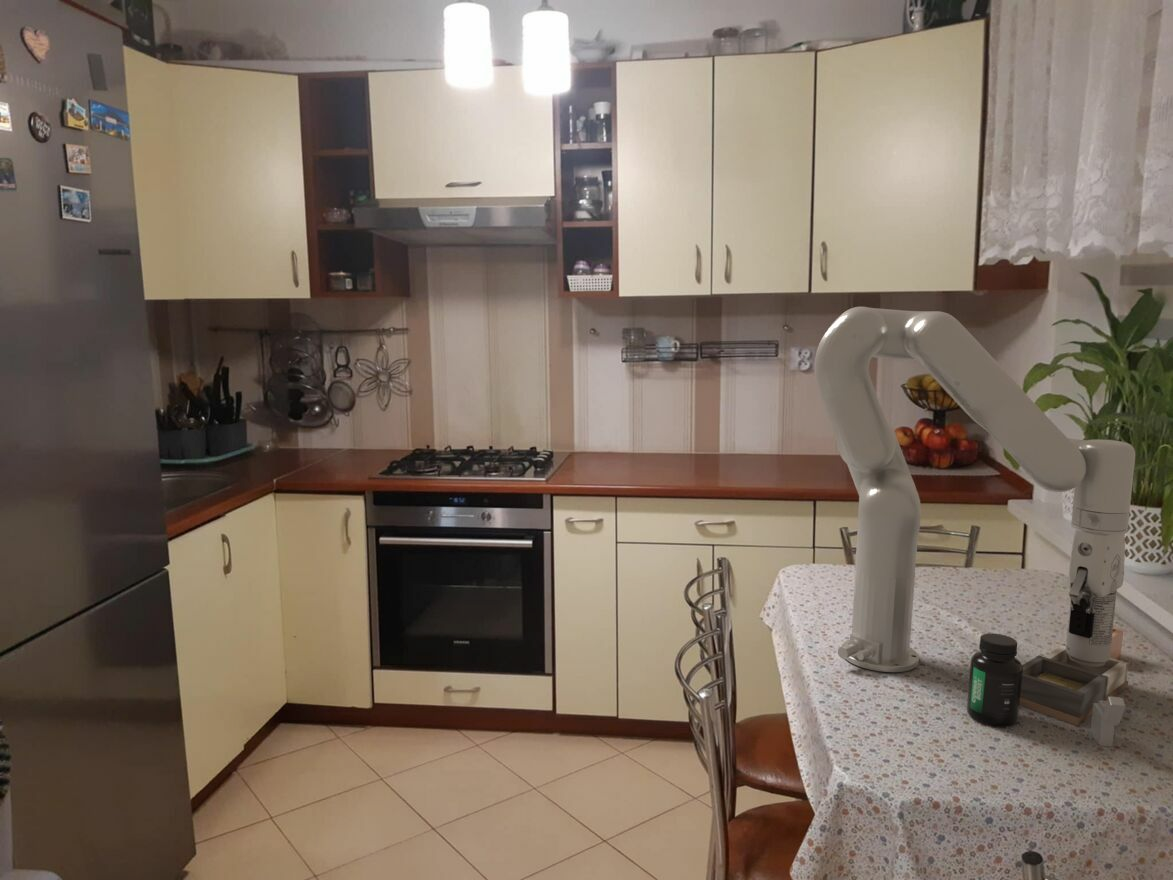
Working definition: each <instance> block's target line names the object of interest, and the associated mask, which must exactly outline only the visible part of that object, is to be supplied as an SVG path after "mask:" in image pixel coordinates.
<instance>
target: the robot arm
mask: <svg viewBox="0 0 1173 880" xmlns="http://www.w3.org/2000/svg"><path fill="white" fill-rule="evenodd" d="M815 352H816V353H815V357H814V376H815V382H816V386H817V389H818V392H819V395H820V398H821V401H822V404H823V407H824V410H825V413H826V416H827V419H828V423H829V425H830V427H831V430H832V433H833V435H834V438H835V441H836V446H837V450H838V453H839V455H840V457H841V459H842V460H843V461H844V463H845V464H846V465H847V468H848V470H849V473H850V476H851V478H852V480H853V484H854V486H855V489H856V491H857V494H858V496H859V497H858V512H857V515H858V516H857V536H856V548H855V552H856V553H855V567H854V568H855V573H854V587H853V588H854V589H853V590H854V591H853V604H852V621H851V622H852V624H851V633H850V634H849V639H848V640H845V641H844V642H843V643H842V644H841V647H839V648H838V649H837V655H838V657H840V659H843V660H846V661H847V662H849V663H851V664H853V665H855V666H857V667H860V668H862V669H866V670H869V671H874V672H875V671H876V672H883V673H903V672H908V671H911V670H913V669H915V668H917V667H918V665H919V660H920V656H919V654H918V653H917V651H915V649H914V648H912V647H911V638H912V637H911V636H912V635H911V634H912V625H913V624H912V622H913V608H914V597H915V596H914V595H915V582H916V581H915V580H916V566H917V565H916V564H917V552H918V542H919V534H920V526H921V520H922V519H921V518H922V517H921V516H922V506H921V505H922V504H921V499H920V495H919V492H918V490H917V487H916V484H915V482H914V479H913V477H912V476H913V475H912V474H911V471H910V469H909V467H908V466H909V465H908V463H907V461H906V458H905V455H904V453H903V451H902V448H901V446H900V443H899V440H898V439H899V438H898V437H897V434H896V432H895V428H894V426H893V424H892V423H891V422H890V420H889V419H888V418H887V417H886V416H885V413H884V411H883V409H882V406H881V403H880V401H879V398H878V396H877V395H878V394H877V392H876V389H875V387H874V384H873V381H872V379H871V376H870V363H871V360H872V358H878V359H887V360H888V359H890V360H900V361H901V360H903V361H918V363H919V364H920V365H921V366H922V367H923V368H924V369H925V370H926V371H927V372H928V374H929V375H930V376H931V377H933V379H934V380H935V381H936V382H937V383H938V384H939V385H940V387H941V388H943V390H944V391H945V392H946V393H947V394H948V395H949V396H950V398H951V399H953V400H954V401H955V403H956V404H957V405H958V406H959V408H961V409H962V410H963V411H964V412H965V414H967V415H968V416H969V418H970V419H972V420H973V422H975V423H976V424H977V425H979V426H980V427H981V428H982V429H984V430H985V431H986V432H987V433H988V434H990V436H991V437H993V439H995V441H997V442H998V444H1000V446H1002V447H1003V449H1005V451H1006V452H1007V453H1008V455H1010V456H1011V458H1013V460H1014V461H1016V462H1017V464H1018V465H1019V466H1020V467H1021V469H1022V470H1023V472H1024V473H1025V474H1026V475H1028V476H1027V477H1029V478H1031V480H1032V481H1033V482H1035V484H1036V485H1037V486H1039V487H1040V488H1042V489H1043V490H1045V491H1048V492H1052V493H1053V492H1054V493H1062V492H1068V491H1071V490H1073V501H1072V513H1071V524H1070V526H1071V528H1073V529H1075V531H1074V536H1073V542H1072V546H1071V553H1070V559H1069V567H1068V579H1067V582H1068V583H1067V585H1068V586H1067V587H1068V588H1069V597H1070V600H1071V605H1070V604H1069V610H1070V609H1071V612H1070V622H1069V621H1068V622H1069V633H1071V634H1074V635H1078V636H1081V637H1085V638H1091V637H1092V634H1093V624H1094V613H1092V610H1093V605H1094V601H1095V597H1096V595H1097V597H1100V598H1101V597H1104V596H1106V595H1108V594H1110V587H1111V584H1112V582H1113V581H1114V580H1116V581H1117V590H1119V589H1120V588H1121V587H1122V586H1123V583H1124V579H1125V578H1124V577H1125V558H1126V556H1125V554H1126V536H1125V535H1126V534H1128V530H1129V520H1130V512H1131V511H1130V510H1131V502H1132V501H1131V500H1132V494H1133V493H1132V490H1133V481H1134V480H1133V479H1134V472H1135V461H1136V450H1135V448H1134V447H1133V445H1131V444H1130V443H1128V442H1125V441H1120V440H1114V439H1098V438H1097V439H1087V440H1084V439H1075V438H1071V437H1070V438H1069V437H1067V435H1065V434H1064V433H1063V432H1062V430H1061V429H1059V427H1058V426H1057V425H1056V424H1055V423H1054V422H1053V421H1052V420H1051V419H1050V417H1048V416H1047V415H1046V413H1044V411H1042V410H1041V408H1040V407H1039V406H1038V405H1037V404H1036V403H1035V402H1034V401H1033V400H1032V399H1031V398H1030V397H1029V396H1028V394H1027V393H1026V392H1025V391H1024V389H1023V388H1022V387H1021V386H1020V385H1019V383H1017V381H1016V380H1015V379H1014V378H1013V377H1012V376H1011V375H1010V374H1009V373H1008V372H1007V371H1006V370H1005V368H1004V367H1002V366H1001V364H1000V363H998V361H997V360H996V359H995V358H994V357H993V356H992V355H991V354H990V352H988V351H987V350H986V349H985V347H984V346H982V345H981V343H980V342H979V341H978V339H976V337H974V335H972V334H971V333H970V332H969V330H968V329H967V328H966V327H964V325H963V324H962V323H961V322H960V321H959V320H958V319H957V318H956V317H954V316H953V315H952V314H950V313H947V312H943V311H937V310H936V311H935V310H934V311H933V310H932V311H925V310H924V311H923V310H922V311H920V310H919V311H917V310H901V309H887V308H876V307H874V308H873V307H869V306H868V307H867V306H855V307H852V308H849V309H847V310H846V311H844V312H843V313H842V314H841V315H839V316H838V317H837V318H836V319H835V320H834V321H833V322H832V323H831V325H830V326H829V327H828V329H827V330H826V332H824V335H823V336H822V338H821V340H820V341H819V344H818V345H817V349H816V351H815ZM1113 579H1114V580H1113ZM1084 587H1086V588H1090V590H1091V593H1089V592H1085V591H1083V589H1084ZM1082 595H1083V596H1087V597H1089V599H1088V603H1087V602H1086V600H1085V599H1084V598H1082V597H1083V596H1082ZM1070 600H1069V601H1070Z"/></svg>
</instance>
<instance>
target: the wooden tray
mask: <svg viewBox="0 0 1173 880" xmlns="http://www.w3.org/2000/svg"><path fill="white" fill-rule="evenodd" d="M1022 666H1023V674H1022V684H1021V695H1020V705H1019V707H1024V708H1027V709H1029V710H1032V711H1035V712H1037V713H1040V714H1043V715H1046V716H1049V717H1051V718H1055V719H1057V720H1059V721H1063V722H1066V723H1069V724H1071V725H1074V726H1079V725H1080V724H1082V723H1083V722H1084V721H1085V720H1087V719H1088V718H1089V717H1092V712H1093V703H1099V701H1107V700H1108V697H1110V696H1112V697H1118V695H1120V694H1121V693H1122V692H1124V691H1125V690H1127V689H1128V687H1129V681H1128V672H1129V662H1127V661H1123V660H1120V659H1118V660H1117V659H1114V658H1110V659H1109V660H1108V661H1106V662H1105V665H1103V666H1098V667H1095V666H1086V665H1082V664H1079V663H1076V662H1074V661H1072V660H1071V659H1070V658H1069V654H1068V653H1067V652H1066V643H1064V644H1062V645H1061V646H1059V647H1058V648H1056V649H1054V650H1053V651H1051V652H1049V653H1047V654H1046V655H1044V656H1043V655H1037V656H1035V657H1033V658H1032V659H1030V660H1029V661H1027V662H1025V663H1024V664H1022ZM1043 672H1047V673H1050V674H1053V675H1056V676H1060V677H1063V678H1066V679H1069V680H1072V681H1075V682H1078V683H1082V684H1085V686H1083V687H1082V688H1080V689H1079V690H1078V691H1076V690H1073V689H1070V688H1066V687H1063V686H1060V685H1057V684H1054V683H1051V682H1048V681H1045V680H1042V679H1039V678H1036V677H1037V676H1038V675H1040V674H1041V673H1043Z"/></svg>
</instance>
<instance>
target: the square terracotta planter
mask: <svg viewBox="0 0 1173 880" xmlns="http://www.w3.org/2000/svg"><path fill="white" fill-rule="evenodd" d="M1123 637H1124V629H1121V628H1117V627H1113V631H1112V641H1111V651H1110V658H1114V659H1117V660H1120V659H1121V655H1122V648H1123V647H1122V646H1123Z"/></svg>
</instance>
